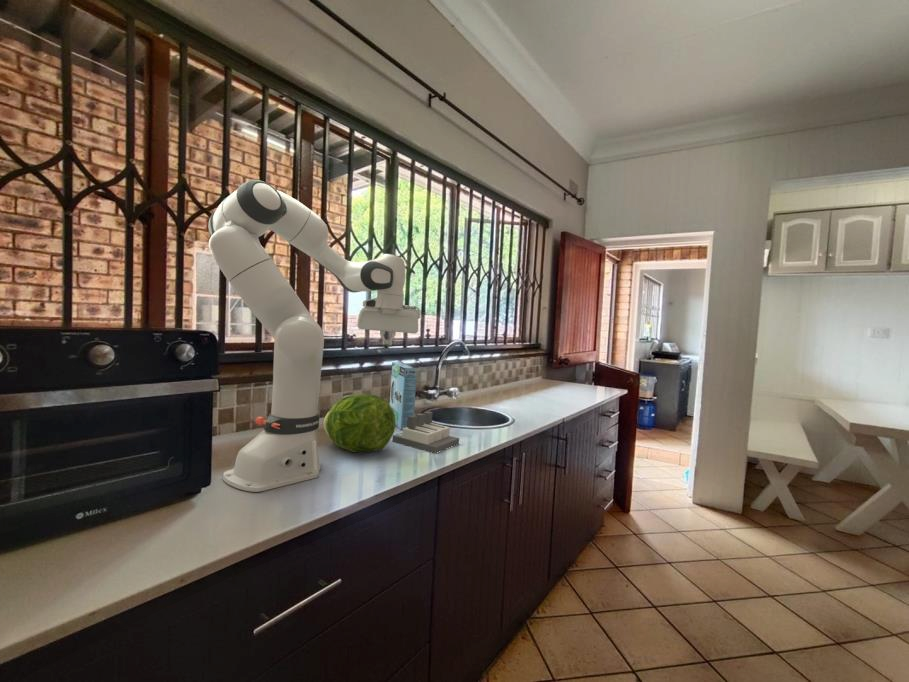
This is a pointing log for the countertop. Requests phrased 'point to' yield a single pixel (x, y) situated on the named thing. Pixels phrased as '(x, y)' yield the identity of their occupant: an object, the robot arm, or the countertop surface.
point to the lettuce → (360, 423)
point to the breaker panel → (427, 447)
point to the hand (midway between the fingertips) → (387, 344)
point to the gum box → (402, 392)
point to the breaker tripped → (420, 419)
